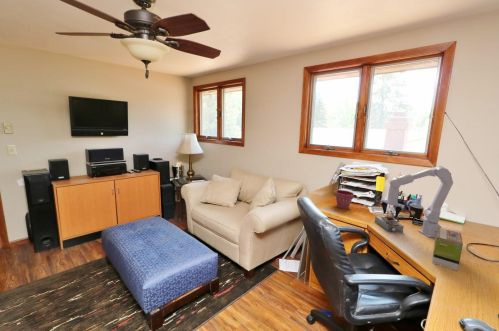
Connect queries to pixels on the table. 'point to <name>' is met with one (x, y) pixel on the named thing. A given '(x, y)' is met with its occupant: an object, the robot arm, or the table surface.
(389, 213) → the spout can
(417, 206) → the coffee mug
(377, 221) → the gearbox
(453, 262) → the tea box
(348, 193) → the plant pot
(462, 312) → the table surface
